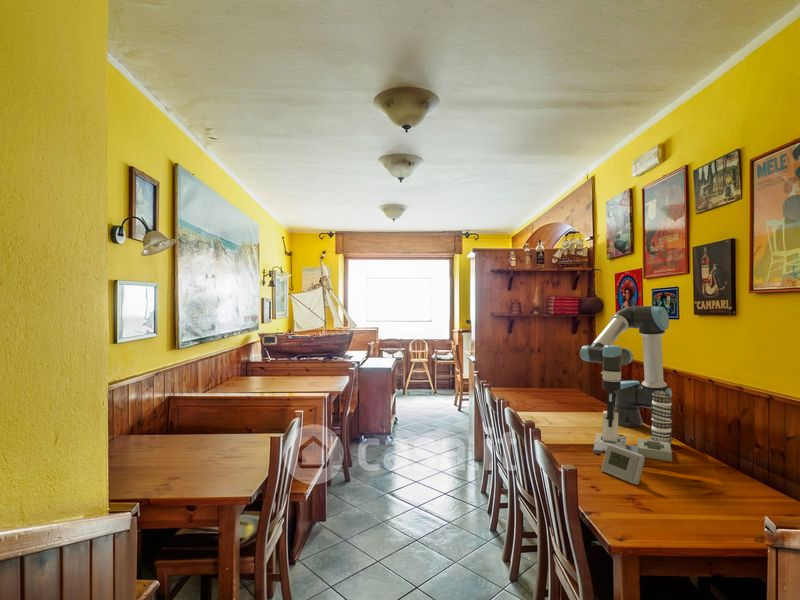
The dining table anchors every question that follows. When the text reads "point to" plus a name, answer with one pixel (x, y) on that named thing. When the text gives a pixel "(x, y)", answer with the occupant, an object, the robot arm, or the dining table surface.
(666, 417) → the decorative candle
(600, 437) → the socket
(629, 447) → the board
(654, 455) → the grey-green cross cutout frame
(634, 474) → the digital clock
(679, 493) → the dining table surface
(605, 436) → the plug
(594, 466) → the dining table surface
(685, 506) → the dining table surface
